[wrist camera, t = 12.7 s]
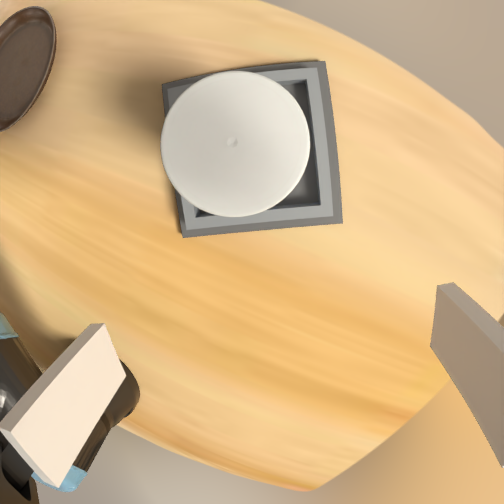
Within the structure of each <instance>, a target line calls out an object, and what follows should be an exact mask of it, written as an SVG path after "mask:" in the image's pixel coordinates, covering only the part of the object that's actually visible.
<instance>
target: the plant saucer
mask: <svg viewBox="0 0 504 504" xmlns="http://www.w3.org/2000/svg"><path fill="white" fill-rule="evenodd" d="M55 51H56V29H55V25H54V22H53V19H52V17H51V15H50V13H49V12H48V11H47V10H46V9H44V8H42V7H38V6H31V7H27V8H24V9H22V10H20V11H18V12H16V13H15V14H13V15H12V16H11V17H9V18H8V19H7V20H6V21H5V22H4V23H3V24H2V25H1V26H0V132H2V131H4V130H6V129H8V128H10V127H11V126H12V125H14V124H15V123H16V122H18V121H19V120H20V119H21V118H22V117H23V116H24V115H25V114H26V113H27V112H28V110H29V109H30V108H31V107H32V105H33V104H34V103H35V101H36V100H37V98H38V97H39V95H40V93H41V92H42V90H43V88H44V86H45V84H46V82H47V79H48V77H49V74H50V71H51V68H52V65H53V61H54V57H55Z"/></svg>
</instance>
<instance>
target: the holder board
mask: <svg viewBox="0 0 504 504" xmlns="http://www.w3.org/2000/svg"><path fill="white" fill-rule="evenodd" d="M228 71H246V72H252V73H256V74H259V75H263V76H265V77H267V78H269V79H271V80H273V81H275V82H277V83H278V84H280V85H281V86H282V87H283V88H285V89H286V90H287V91H288V92H289V93H290V94H291V95H292V96H293V97H294V99H295V100H296V101H297V103H298V104H299V106H300V108H301V109H302V111H303V113H304V116H305V118H306V121H307V124H308V129H309V135H310V152H309V158H308V162H307V166H306V168H305V171H304V173H303V175H302V177H301V179H300V181H299V182H298V184H297V185H296V186H295V188H294V189H293V190H292V191H291V192H290V193H289V194H288V195H287V196H286V197H285V198H284V199H283V200H282V201H280V202H279V203H278V204H276V205H275V206H273V207H271V208H269V209H267V210H265V211H263V212H260V213H257V214H254V215H250V216H244V217H224V216H218V215H214V214H211V213H208V212H205V211H203V210H201V209H199V208H197V207H195V206H194V205H192V204H191V203H189V202H188V201H187V200H186V199H185V198H183V197H182V196H181V195H180V194H179V192H178V191H177V190H176V189H175V194H176V200H177V206H178V213H179V219H180V225H181V230H182V236H183V238H187V237H197V236H207V235H217V234H227V233H237V232H248V231H259V230H270V229H281V228H292V227H304V226H315V225H328V224H340V223H343V219H342V202H341V187H340V175H339V163H338V153H337V143H336V134H335V125H334V117H333V110H332V102H331V95H330V88H329V82H328V75H327V69H326V63H325V61H316V62H298V63H285V64H274V65H265V66H256V67H249V68H242V69H235V70H228ZM222 72H226V71H222ZM217 73H221V72H217ZM213 74H216V73H211V74H206V75H201V76H196V77H191V78H186V79H182V80H178V81H173V82H169V83H165V84H162V91H163V101H164V111H165V119H166V116H167V114H168V112H169V110H170V108H171V107H172V105H173V104H174V102H175V101H176V100H177V98H178V97H179V96H180V95H181V94H182V93H183V92H184V91H185V90H186V89H187V88H189V87H190V86H191V85H193V84H194V83H196V82H197V81H199V80H201V79H203V78H205V77H207V76H210V75H213Z"/></svg>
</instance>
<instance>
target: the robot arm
mask: <svg viewBox="0 0 504 504" xmlns="http://www.w3.org/2000/svg"><path fill="white" fill-rule="evenodd" d="M430 347H431V348H432V350H433V351H434V353H435V354H436V356H437V357H438V359H439V360H440V362H441V363H442V365H443V366H444V368H445V370H446V371H447V373H448V374H449V376H450V377H451V379H452V381H453V382H454V384H455V385H456V387H457V388H458V390H459V392H460V393H461V395H462V397H463V398H464V400H465V402H466V403H467V405H468V407H469V408H470V410H471V412H472V413H473V415H474V417H475V419H476V420H477V422H478V424H479V426H480V427H481V429H482V431H483V433H484V435H485V437H486V438H487V440H488V442H489V444H490V446H491V448H492V450H493V451H494V453H495V455H496V457H497V459H498V461H499V463H500V465H501V467H502V468H503V467H504V328H503V327H502V326H501V325H500V324H499V323H498V322H497V321H496V320H495V319H494V318H493V317H492V316H491V315H490V314H488V313H487V312H486V311H485V310H484V309H483V308H482V307H481V306H480V305H479V304H478V303H476V302H475V301H474V300H473V299H472V298H471V297H470V296H469V295H467V294H466V293H465V292H464V291H463V290H462V289H460V288H459V287H458V286H457V285H456V284H455V283H453V282H452V283H448V284H443V285H438V286H437V292H436V303H435V313H434V321H433V329H432V337H431V343H430ZM139 398H140V390H139V386H138V384H137V381H136V379H135V378H134V376H133V374H132V373H131V372H130V370H129V369H128V368H127V367H126V366H125V365H124V364H123V363H122V362H121V361H120V360H119V358H118V356H117V353H116V351H115V349H114V346H113V344H112V341H111V339H110V336H109V334H108V331H107V329H106V326H105V323H102V324H90V325H89V326H88V327H87V328H86V329H85V330H84V331H83V332H82V333H81V334H80V335H79V336H78V337H77V338H76V339H75V340H74V341H73V342H72V344H71V345H70V346H69V347H68V348H67V349H66V350H65V351H64V352H63V353H62V354H61V355H60V356H59V357H58V358H57V359H56V360H55V361H54V362H53V363H52V365H51V366H50V367H49V368H48V369H47V370H46V371H45V372H44V373H42V372H41V371H40V369H39V368H38V366H37V365H36V363H35V362H34V361H33V359H32V358H31V356H30V355H29V353H28V352H27V350H26V349H25V347H24V345H23V344H22V342H21V341H20V339H19V335H18V334H17V333H15V331H14V330H13V328H12V327H11V325H10V323H9V322H8V320H7V319H6V317H5V316H4V315H3V314H2V313H1V312H0V504H39V499H38V493H37V487H36V483H35V480H37V481H39V482H41V483H43V484H44V485H46V486H49V487H51V488H53V489H56V490H59V491H63V492H71V491H74V490H75V489H76V488H77V487H78V486H79V484H80V483H81V481H82V480H83V478H84V477H85V476H86V475H87V471H88V469H89V467H90V466H91V464H92V462H93V460H94V458H95V456H96V455H97V453H98V451H99V449H100V447H101V445H102V444H103V442H104V440H105V438H106V436H107V435H108V433H109V431H110V429H111V428H112V427H114V426H115V425H116V424H118V423H119V422H120V421H121V420H122V419H123V418H124V417H127V416H128V415H130V414H131V413H132V412H133V410H134V409H135V407H136V405H137V403H138V401H139ZM33 478H34V479H35V480H34V479H33Z"/></svg>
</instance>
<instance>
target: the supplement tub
mask: <svg viewBox="0 0 504 504" xmlns="http://www.w3.org/2000/svg"><path fill="white" fill-rule="evenodd" d="M160 148H161V157H162V162H163V166H164V169H165V171H166V174H167V176H168V178H169V180H170V181H171V183H172V185H173V186H174V187H175V189H176V190H177V191H178V192H179V194H180V195H181V196H182V197H183V198H185V199H186V200H187V201H188V202H189V203H191V204H192V205H194V206H195V207H197V208H199V209H201V210H203V211H205V212H208V213H211V214H214V215H218V216H224V217H244V216H250V215H254V214H257V213H260V212H263V211H265V210H267V209H269V208H271V207H273V206H275V205H276V204H278V203H279V202H280V201H282V200H283V199H284V198H285V197H286V196H287V195H288V194H289V193H290V192H291V191H292V190H293V189H294V188H295V186H296V185H297V184H298V182H299V181H300V179H301V177H302V175H303V173H304V171H305V168H306V166H307V162H308V158H309V152H310V135H309V129H308V124H307V121H306V118H305V116H304V113H303V111H302V109H301V108H300V106H299V104H298V103H297V101H296V100H295V99H294V97H293V96H292V95H291V94H290V93H289V92H288V91H287V90H286V89H285V88H283V87H282V86H281V85H280V84H278V83H277V82H275V81H273V80H271V79H269V78H267V77H265V76H263V75H259V74H256V73H252V72H246V71H226V72H221V73H216V74H213V75H210V76H207V77H205V78H203V79H201V80H199V81H197V82H196V83H194V84H193V85H191V86H190V87H189V88H187V89H186V90H185V91H184V92H183V93H182V94H181V95H180V96H179V97H178V98H177V100H176V101H175V102H174V104H173V105H172V107H171V108H170V110H169V112H168V114H167V116H166V119H165V121H164V125H163V128H162V133H161V143H160Z"/></svg>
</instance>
